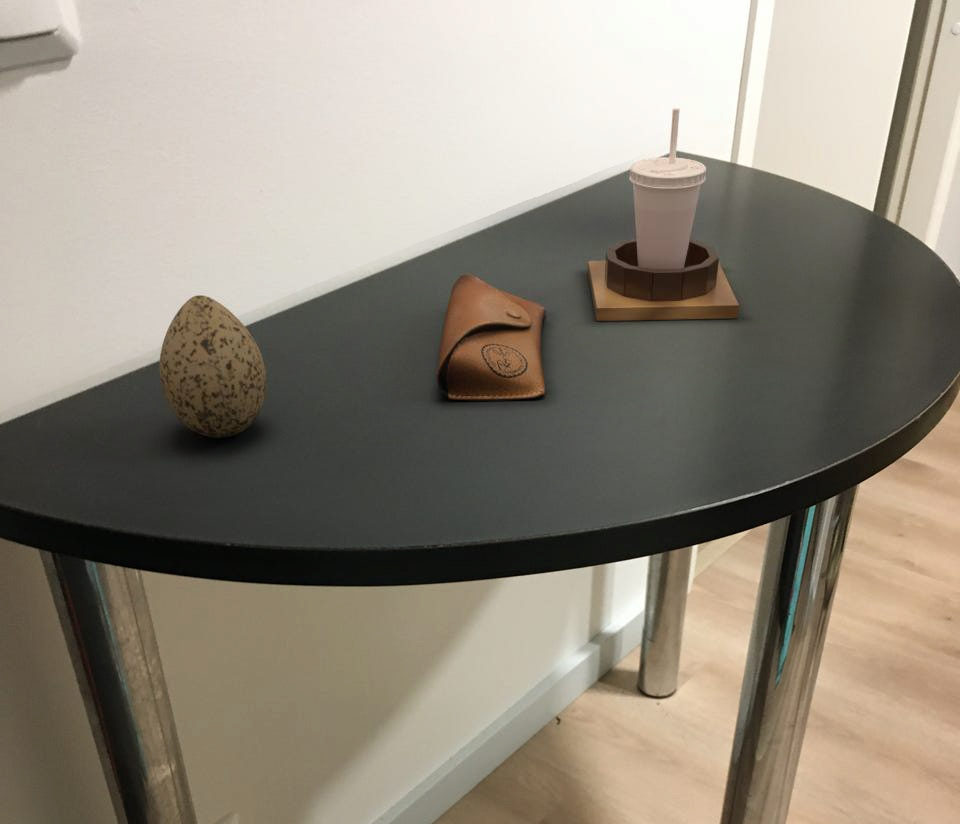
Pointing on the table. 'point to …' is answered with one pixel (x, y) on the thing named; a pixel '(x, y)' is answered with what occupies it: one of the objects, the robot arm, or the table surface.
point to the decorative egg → (212, 370)
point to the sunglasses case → (490, 345)
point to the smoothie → (665, 205)
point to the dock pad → (660, 286)
